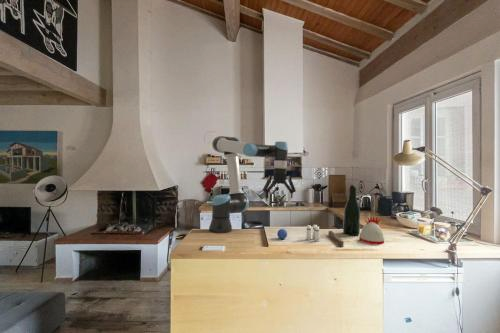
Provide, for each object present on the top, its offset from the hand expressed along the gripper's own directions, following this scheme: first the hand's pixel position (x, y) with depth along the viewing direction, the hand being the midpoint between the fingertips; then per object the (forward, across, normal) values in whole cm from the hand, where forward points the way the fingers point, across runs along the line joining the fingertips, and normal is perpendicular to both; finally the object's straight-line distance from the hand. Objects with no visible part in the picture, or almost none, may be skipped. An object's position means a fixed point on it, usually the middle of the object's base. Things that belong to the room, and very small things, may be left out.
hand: (278, 203), depth 163 cm
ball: (+19, +4, +3) cm, 20 cm away
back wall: (+22, +35, -7) cm, 42 cm away
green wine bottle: (+22, +56, +6) cm, 60 cm away
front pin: (+22, +20, -2) cm, 29 cm away
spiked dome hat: (+22, +58, -11) cm, 63 cm away
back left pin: (+22, +24, -1) cm, 33 cm away
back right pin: (+22, +23, -6) cm, 32 cm away
